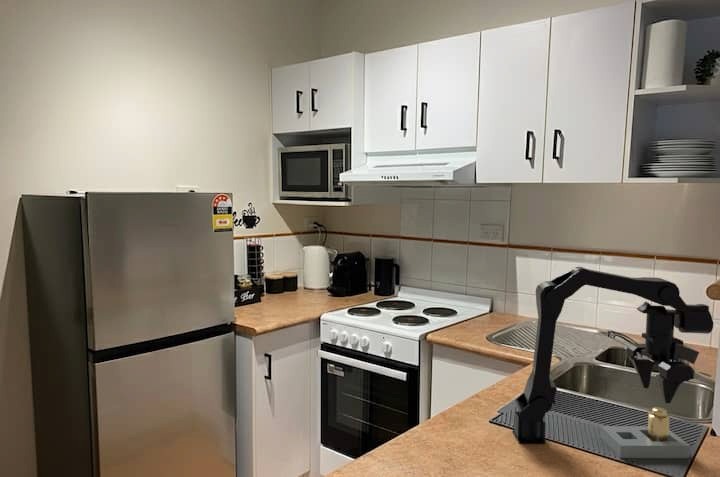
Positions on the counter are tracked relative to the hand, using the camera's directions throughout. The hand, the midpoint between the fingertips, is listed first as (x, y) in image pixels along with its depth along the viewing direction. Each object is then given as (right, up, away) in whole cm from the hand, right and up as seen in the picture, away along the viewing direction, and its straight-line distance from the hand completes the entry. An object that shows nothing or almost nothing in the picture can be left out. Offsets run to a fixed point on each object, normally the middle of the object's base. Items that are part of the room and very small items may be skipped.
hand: (656, 395), depth 123 cm
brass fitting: (+1, -13, +1) cm, 13 cm away
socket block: (-3, -13, +1) cm, 13 cm away
